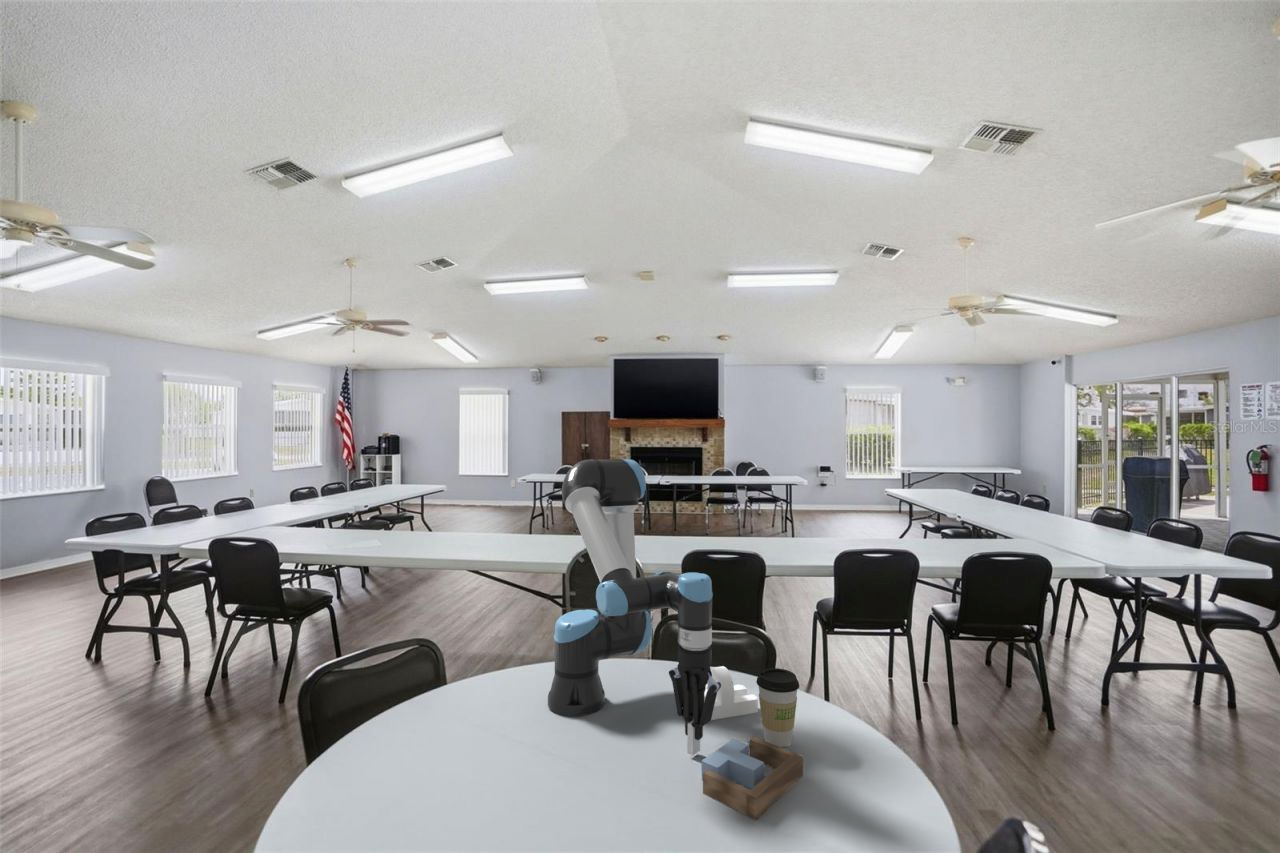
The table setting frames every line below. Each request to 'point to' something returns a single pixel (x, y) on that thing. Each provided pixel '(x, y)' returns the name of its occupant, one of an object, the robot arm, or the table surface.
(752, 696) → the white slotted block
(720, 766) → the t block
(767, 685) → the coffee cup
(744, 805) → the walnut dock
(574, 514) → the robot arm
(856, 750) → the table surface
